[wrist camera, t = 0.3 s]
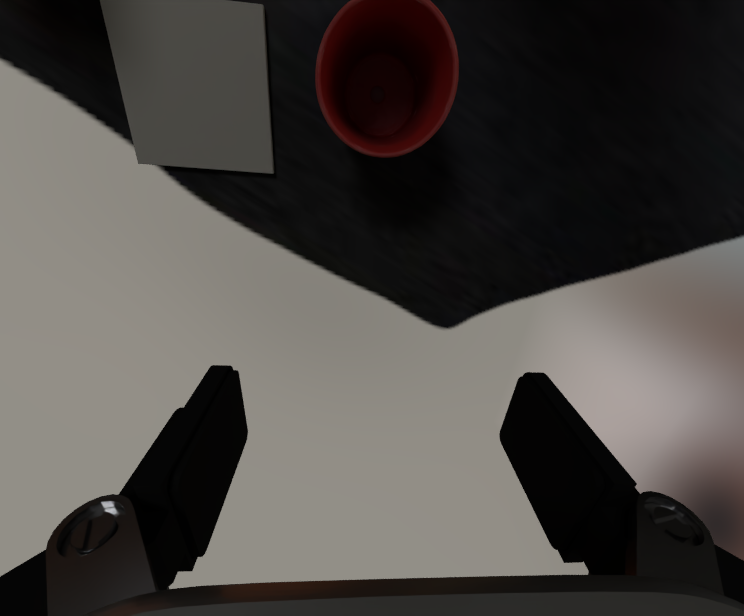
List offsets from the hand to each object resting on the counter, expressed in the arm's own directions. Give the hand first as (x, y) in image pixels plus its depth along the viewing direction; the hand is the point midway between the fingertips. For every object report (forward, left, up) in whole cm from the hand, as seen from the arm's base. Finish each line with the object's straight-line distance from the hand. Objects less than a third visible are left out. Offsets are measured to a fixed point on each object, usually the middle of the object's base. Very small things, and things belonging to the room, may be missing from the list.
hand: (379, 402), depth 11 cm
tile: (-11, -17, -31) cm, 37 cm away
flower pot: (-12, +1, -31) cm, 33 cm away
